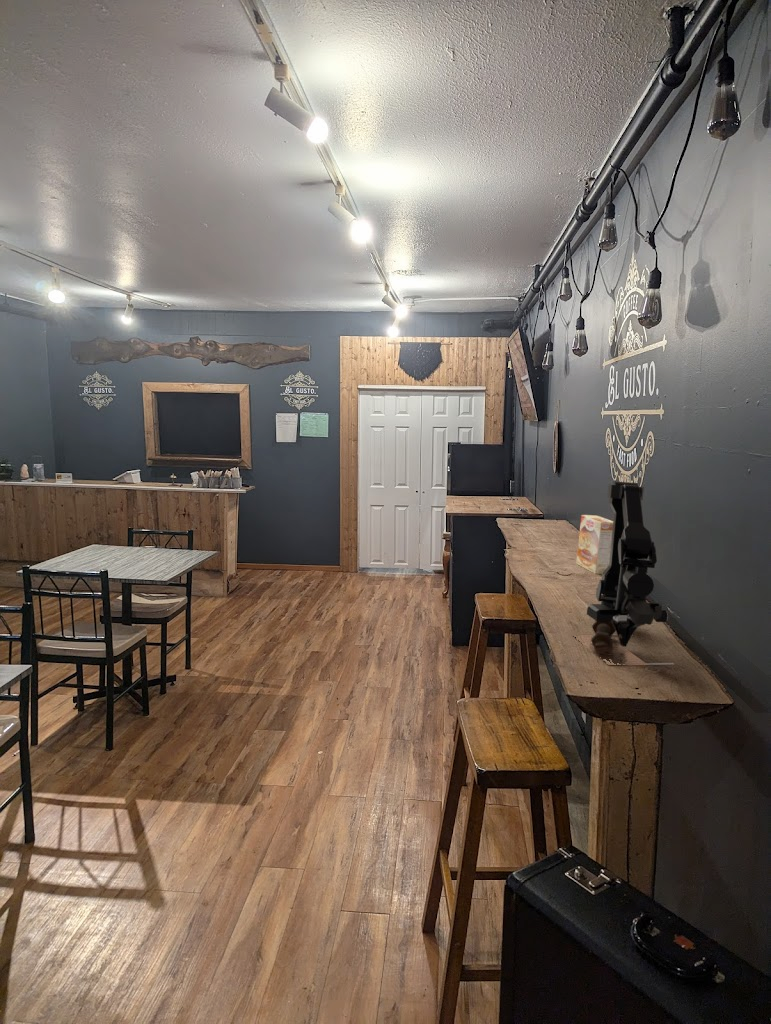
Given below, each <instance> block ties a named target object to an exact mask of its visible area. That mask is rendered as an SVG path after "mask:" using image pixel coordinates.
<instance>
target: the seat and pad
mask: <svg viewBox="0 0 771 1024" xmlns="http://www.w3.org/2000/svg"><path fill="white" fill-rule="evenodd" d="M580 635H581V636H582V637H581V638H582V640H583V641H584V642H585V643H582V644H581V645H582V646H584V647H585V648H586V649H587V648H588V649H587V650H589V651H590V652H591V653H592V654H593V653H594V655H595V656H596V657H597V658H598V657H599V658H598V659H600V660H601V661H602V660H603V659H606V660H607V661H609V662H610V660H609V659H611V660H612V662H613V663H614V664H616V665H617V663H619V664H621V665H623V664H625V666H671V665H673V666H675V664H676V663H674V662H651V663H650V662H648V663H647V662H645V661H644V660H642V659H641V658H639V656H637V655H635V654H633V653H632V652H631V651H630V650H628V649H627V648H626V647H625V646H621V644H620V642H617V641H616V640H615V639H613V638H615V637H616V638H618V635H616V634H613V635H612V637H613V638H612V637H611V640H612V642H613V644H612V645H611V647H610V648H609V649H608V651H607V652H605V653H602V654H601V653H598V652H596V651H595V649H594V646H593V644H592V643H591V642H592V641H591V639H592V637H593V636H594V635H595V634H580ZM583 635H584V636H583ZM588 635H589V636H590V637H589V636H588ZM632 636H633V635H632ZM632 636H631V638H632ZM578 637H579V636H578ZM579 638H580V637H579ZM579 638H578V639H579ZM586 639H587V641H589V642H590V644H589V643H587V642H586ZM582 640H580V639H579V641H582ZM579 641H578V642H579ZM583 641H582V642H583ZM600 657H601V658H600ZM610 663H611V662H610Z"/></svg>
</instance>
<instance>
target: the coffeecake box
mask: <svg viewBox="0 0 771 1024" xmlns="http://www.w3.org/2000/svg"><path fill="white" fill-rule="evenodd" d="M580 516H581V517H580V523H579V525H580V527H579V535H578V544H577V553H576V562H575V564H576V565H578V566H580V567H582V568H583V569H585V570H586V571H589V572H591V573H592V574H594V575H602V574H603V572H604V571H605V570H606V568H607V567H608V566H609V562H610V551H611V541H612V531H613V520H610V519H608V518H606V517H602V516H600V515H594V514H593V515H592V514H581V515H580Z"/></svg>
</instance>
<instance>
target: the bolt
mask: <svg viewBox="0 0 771 1024" xmlns="http://www.w3.org/2000/svg"><path fill="white" fill-rule="evenodd" d="M591 628H592V630H593V632H594V634H593V635H594V636H593V637H592V639H591V641H592V644H593V646H594V649H595V651H596V652H598V653H601V654H602V653H605V652H607V651H608V649H609V648H610V647H611V645H612V644H613V642H612V640H611V638H612V637H611V636H612V635H614V633H616V629H615V626H614V624H613V622H612V620H611V621H610V622H598V621H595V620H594V622H593V624H592V626H591Z"/></svg>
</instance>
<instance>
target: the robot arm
mask: <svg viewBox="0 0 771 1024" xmlns="http://www.w3.org/2000/svg"><path fill="white" fill-rule="evenodd" d="M607 487H608V489H607V498H609V499H608V503H609V506H610V509H611V510H612V512H613V520H612V521H613V531H612V541H611V551H610V562H609V566H608V567H607V568H606V570H605V571H604V572H603V574H601V579H600V580H599V582H598V584H597V586H596V593H595V597H596V600H597V602H600V603H590V604H588V606H587V609H586V615H587V616H588V617H590V618H591V619H593V620H594V622H595V621H598V622H610V621H611V620H612V622H613V624H614V626H615V629H616V631H615V633H616V634H617V635H618V637H617V638H618V640H619V644H620V645H621V646H623V647H626V646H627V644H628V643H629V641H630V639H631V638H632V637H631V636H633V634H634V633H635V631H636V630H637V628H639V627H641V626H645V625H652V624H653V621H655V622H656V623H667V622H668V619H669V613H668V611H667V610H666V609H664V608H663V606H662V605H661V603H660V602H652V603H651V602H647V596H649V595H650V594H651V593H653V590H654V588H655V583H654V580H653V579H652V577H651V576H650V575H649V573H648V568H650V569H655V567H656V566H655V565H656V563H657V562H658V561H657V560H658V559H657V550H656V546H655V542H654V541H653V540H652V537H651V532H650V530H648V529H647V528H646V527H645V523H644V516H643V510H642V509H643V506H642V501H644V490H645V487H643V486H640V485H639V483H637V482H630V481H629V482H628V481H617V480H616V481H613V483H612V484H608V486H607ZM648 559H649V560H648Z"/></svg>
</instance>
